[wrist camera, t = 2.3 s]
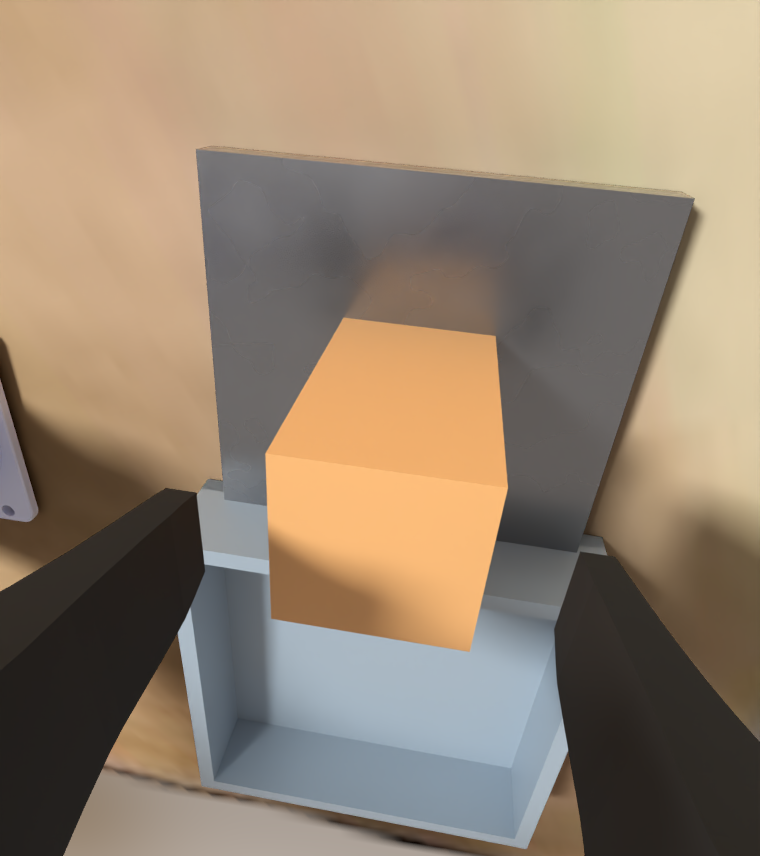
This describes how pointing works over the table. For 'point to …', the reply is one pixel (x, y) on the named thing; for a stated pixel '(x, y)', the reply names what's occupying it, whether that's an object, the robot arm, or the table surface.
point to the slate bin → (377, 694)
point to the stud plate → (437, 302)
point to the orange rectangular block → (389, 485)
